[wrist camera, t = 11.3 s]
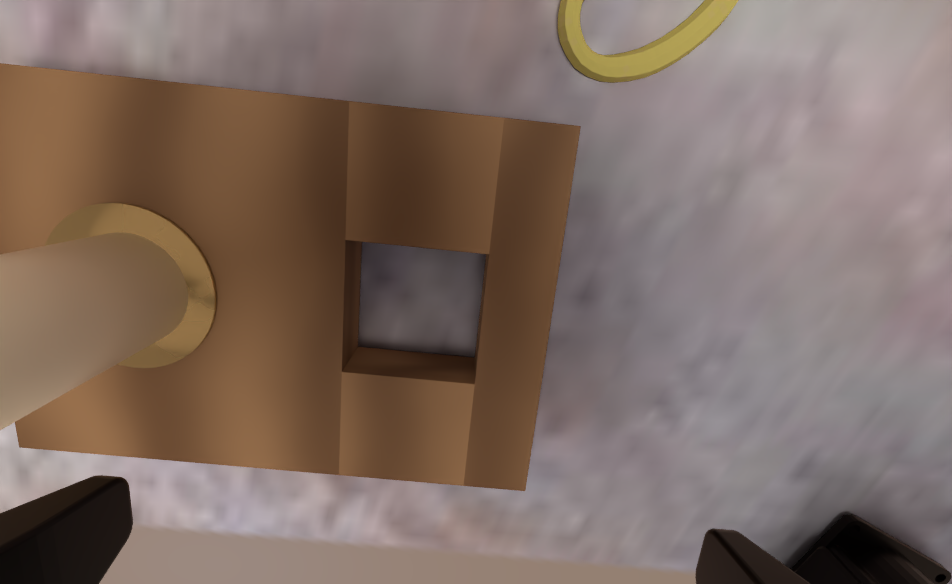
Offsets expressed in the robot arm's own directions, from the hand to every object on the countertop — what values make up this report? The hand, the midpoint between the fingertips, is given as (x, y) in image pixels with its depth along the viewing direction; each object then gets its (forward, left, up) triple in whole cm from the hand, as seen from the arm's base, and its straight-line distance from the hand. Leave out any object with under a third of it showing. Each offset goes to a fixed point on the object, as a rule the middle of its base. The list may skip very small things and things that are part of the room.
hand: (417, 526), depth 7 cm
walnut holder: (+6, +3, -13) cm, 14 cm away
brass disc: (+10, +5, -10) cm, 15 cm away
